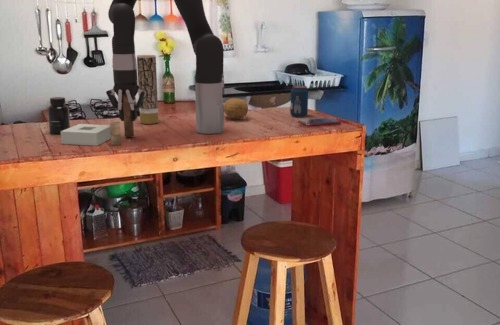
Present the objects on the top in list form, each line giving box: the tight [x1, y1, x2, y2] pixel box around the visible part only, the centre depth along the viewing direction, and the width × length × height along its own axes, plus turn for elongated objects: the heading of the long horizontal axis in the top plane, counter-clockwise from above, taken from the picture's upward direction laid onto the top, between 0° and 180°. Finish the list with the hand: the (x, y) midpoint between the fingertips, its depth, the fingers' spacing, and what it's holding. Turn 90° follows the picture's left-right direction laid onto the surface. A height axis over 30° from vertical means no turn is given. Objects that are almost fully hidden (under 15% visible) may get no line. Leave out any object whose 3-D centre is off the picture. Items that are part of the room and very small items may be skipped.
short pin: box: [109, 121, 122, 146], centre depth 165 cm, size 3×3×7 cm
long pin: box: [122, 94, 135, 138], centre depth 173 cm, size 3×3×14 cm
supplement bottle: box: [47, 96, 71, 135], centre depth 180 cm, size 7×7×12 cm
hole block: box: [60, 123, 111, 147], centre depth 170 cm, size 12×12×4 cm
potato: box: [223, 97, 249, 120], centre depth 206 cm, size 10×14×8 cm
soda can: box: [289, 85, 309, 119], centre depth 211 cm, size 7×7×12 cm
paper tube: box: [136, 54, 159, 125], centre depth 195 cm, size 7×7×25 cm
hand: (128, 120), depth 173 cm, fingers closed on long pin, 3 cm apart
